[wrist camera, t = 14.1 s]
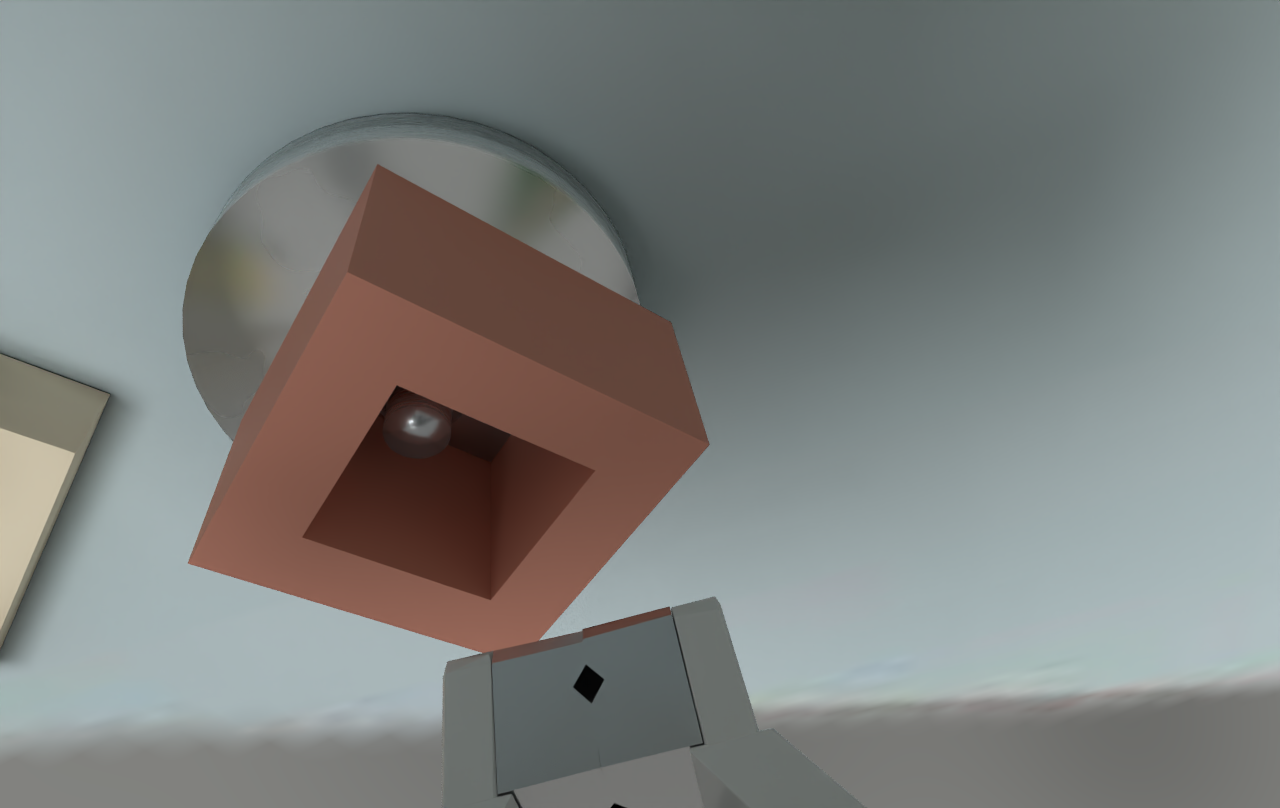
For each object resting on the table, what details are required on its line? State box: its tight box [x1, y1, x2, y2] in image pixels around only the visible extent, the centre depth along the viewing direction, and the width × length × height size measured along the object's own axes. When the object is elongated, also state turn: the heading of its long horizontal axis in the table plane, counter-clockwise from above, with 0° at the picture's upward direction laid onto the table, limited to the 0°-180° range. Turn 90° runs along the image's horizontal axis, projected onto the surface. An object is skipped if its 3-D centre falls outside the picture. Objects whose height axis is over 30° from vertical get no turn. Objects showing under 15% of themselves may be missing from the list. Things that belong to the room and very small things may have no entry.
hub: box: [183, 113, 640, 462], centre depth 17 cm, size 9×9×4 cm
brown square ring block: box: [188, 164, 710, 653], centre depth 16 cm, size 6×6×4 cm
